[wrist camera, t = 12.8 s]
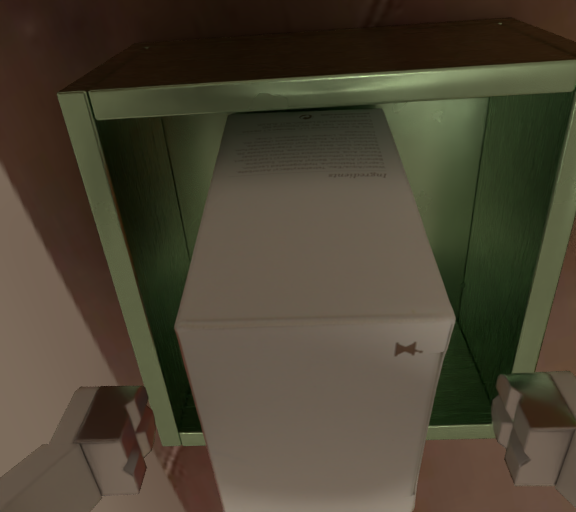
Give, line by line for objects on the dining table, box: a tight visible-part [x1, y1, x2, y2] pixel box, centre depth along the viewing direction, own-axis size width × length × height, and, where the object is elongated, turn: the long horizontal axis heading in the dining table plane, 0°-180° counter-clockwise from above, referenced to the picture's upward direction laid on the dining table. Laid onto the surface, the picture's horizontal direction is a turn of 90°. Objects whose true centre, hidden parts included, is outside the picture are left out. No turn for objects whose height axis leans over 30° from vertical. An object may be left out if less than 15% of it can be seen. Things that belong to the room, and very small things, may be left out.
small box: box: [174, 108, 456, 512], centre depth 16 cm, size 8×6×10 cm
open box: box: [57, 18, 576, 446], centre depth 19 cm, size 14×14×7 cm
